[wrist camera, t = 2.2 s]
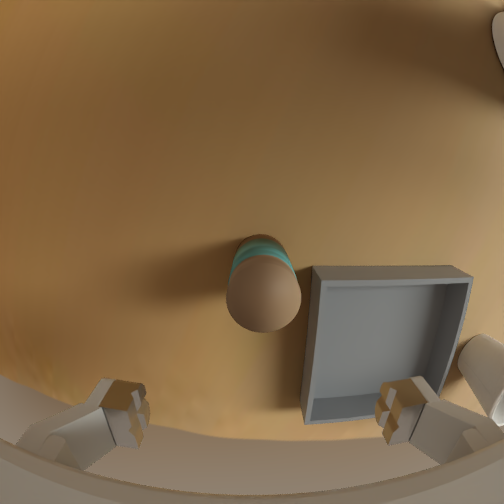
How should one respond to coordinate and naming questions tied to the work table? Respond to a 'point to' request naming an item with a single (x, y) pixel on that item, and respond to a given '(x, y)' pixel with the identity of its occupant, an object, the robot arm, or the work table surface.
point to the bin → (378, 334)
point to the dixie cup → (485, 373)
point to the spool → (262, 285)
